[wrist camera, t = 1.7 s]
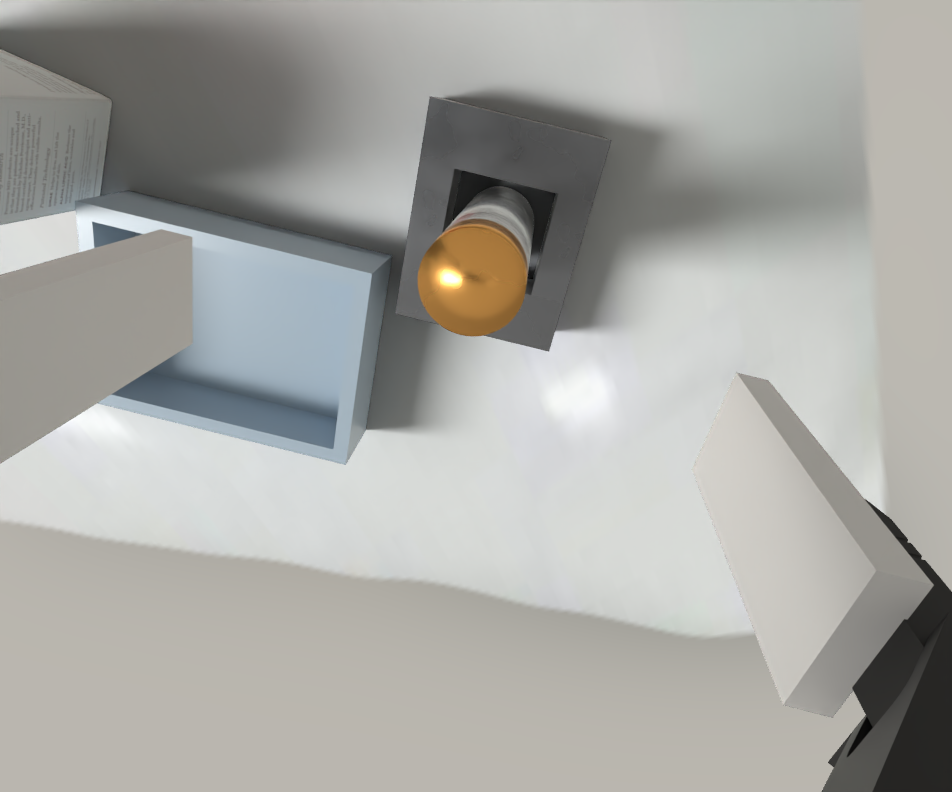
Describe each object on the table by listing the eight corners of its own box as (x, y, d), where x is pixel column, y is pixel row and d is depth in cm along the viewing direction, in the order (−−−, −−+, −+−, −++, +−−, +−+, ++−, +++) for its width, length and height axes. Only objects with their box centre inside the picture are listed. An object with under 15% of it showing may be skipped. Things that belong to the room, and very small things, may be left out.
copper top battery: (458, 249, 31) (409, 322, 20) (472, 178, 29) (427, 217, 19) (524, 265, 31) (511, 347, 20) (542, 195, 29) (538, 243, 19)
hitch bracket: (407, 296, 32) (395, 313, 30) (441, 98, 28) (430, 96, 25) (548, 331, 32) (548, 351, 30) (605, 137, 28) (611, 140, 25)
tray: (138, 373, 36) (93, 402, 33) (128, 190, 32) (74, 200, 28) (365, 430, 36) (345, 464, 33) (392, 255, 31) (372, 273, 28)
